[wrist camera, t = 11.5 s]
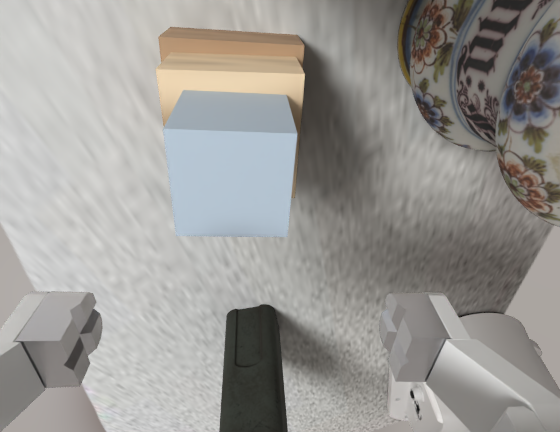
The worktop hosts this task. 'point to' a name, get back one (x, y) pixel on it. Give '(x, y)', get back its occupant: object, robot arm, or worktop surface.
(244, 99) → the blue cube
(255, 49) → the bottom block
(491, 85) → the apothecary jar
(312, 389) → the worktop surface
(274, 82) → the top block
